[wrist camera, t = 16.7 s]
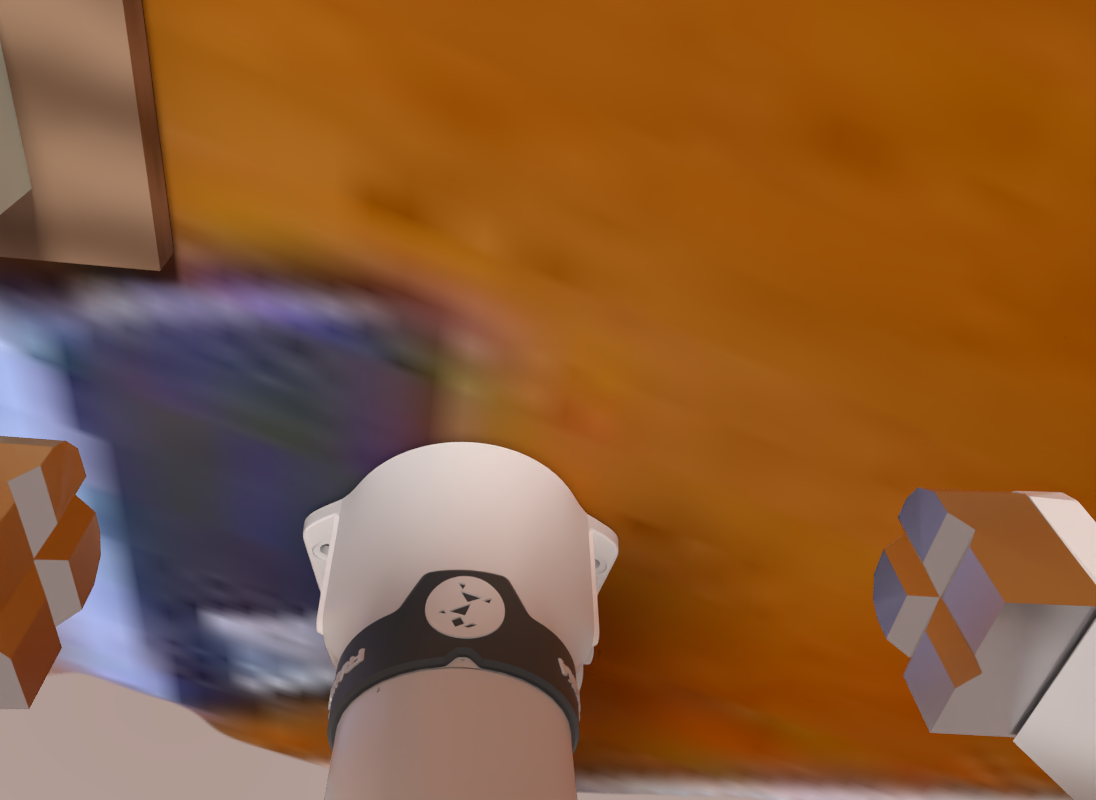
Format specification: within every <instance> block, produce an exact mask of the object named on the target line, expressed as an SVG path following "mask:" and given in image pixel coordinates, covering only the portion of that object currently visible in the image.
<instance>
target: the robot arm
mask: <svg viewBox="0 0 1096 800" xmlns="http://www.w3.org/2000/svg"><path fill="white" fill-rule="evenodd" d="M85 478H86V474H85V470H84V467H83V464H82V460H81V457H80V454H79V451H78V448H76V447H75V446H73V445H72V444H70V443H68V442H67V441H59V440H46V439H32V438H19V437H6V436H0V709H29V708H30V706H31V704H32V702H33V701H34V699H35V697H36V695H37V693H38V691H39V689H40V687H41V686H42V684H43V682H44V680H45V678H46V676H47V674H48V672H49V671H50V669H51V667H52V665H53V663H54V661H55V659H56V657H57V656H58V654H59V652H60V650H61V648H62V647H61V644H60V641H59V637H58V634H57V631H56V628H55V627H56V626H58V625H59V624H61V623H62V622H64V621H65V620H67V619H68V618H70V617H71V616H73V615H74V614H76V613H77V612H79V611H80V610H82V608H83V606H84V604H85V602H86V600H87V598H88V596H89V594H90V592H91V590H92V588H93V586H94V582H95V578H96V574H97V569H98V565H99V560H100V556H101V550H100V530H99V525H98V521H97V517H96V513H95V512H94V511H93V510H92V509H91V508H90V507H89V506H88V505H86V504H85V503H84V502H83V501H82V500H81V499H80V498H78V497H77V496H76V495H75V494H76V492H77V491H78V489H79V487H80V486H81V484H82V482H83V481H84V479H85ZM898 519H899V521H900V523H901V526H902V528H903V530H904V532H905V534H904V535H903V536H902V537H900V538H899V539H897V540H896V541H895V542H893V543H892V544H890V545H889V546H888V547H886V548H885V549H884V550H883V553H882V555H881V558H880V560H879V563H878V565H877V568H876V571H875V573H874V595H873V600H874V604H875V609H876V614H877V618H878V621H879V623H880V625H881V628H882V630H883V632H884V634H885V637H886V639H887V640H888V641H890V642H891V643H892V644H893V645H895V646H896V647H897V648H898V649H900V650H901V651H902V652H903V653H905V654H906V655H907V656H908V657H909V660H908V663H907V666H906V669H905V672H904V674H903V676H904V678H905V680H906V682H907V684H908V686H909V689H910V691H911V693H912V695H913V697H914V699H915V701H916V703H917V705H918V708H919V710H920V712H921V714H922V716H923V718H924V720H925V722H926V725H927V727H928V729H929V731H930V733H946V734H965V735H983V736H1002V737H1015V739H1014V740H1013V742H1014V743H1015V744H1016V745H1017V746H1018V747H1020V748H1021V749H1022V750H1023V751H1024V752H1025V753H1026V754H1027V755H1028V756H1029V757H1030V758H1031V759H1032V760H1033V761H1034V762H1035V763H1036V764H1037V765H1038V766H1039V767H1040V768H1042V769H1043V770H1044V771H1045V772H1046V773H1047V774H1048V775H1049V776H1050V777H1051V778H1052V779H1053V780H1054V781H1055V782H1056V783H1057V784H1058V785H1059V786H1060V787H1061V788H1062V789H1064V790H1065V791H1066V792H1067V793H1068V794H1069V795H1070V796H1071V797H1072V798H1073V799H1074V800H1096V522H1095V521H1094V520H1093V519H1092V518H1091V516H1090V515H1089V514H1088V513H1087V512H1086V510H1085V509H1084V508H1083V507H1082V506H1081V505H1080V503H1079V502H1078V501H1077V500H1075V499H1073V498H1071V497H1069V496H1068V495H1066V494H1064V493H1062V492H1032V491H1013V492H996V491H975V490H955V489H934V488H917V489H916V490H915V491H914V492H913V493H912V494H911V495H910V496H909V497H908V498H907V499H906V501H905V503H904V505H903V507H902V510H901V512H900V514H899V516H898ZM303 539H304V542H305V546H306V549H307V552H308V555H309V558H310V561H311V564H312V567H313V571H314V574H315V577H316V580H317V583H318V586H319V589H320V592H321V596H320V602H319V608H318V614H317V624H316V626H317V632H318V633H320V634H321V635H323V637H324V642H325V646H326V649H327V651H328V654H329V656H330V658H331V660H332V662H333V664H334V667H335V669H336V671H337V672H336V678H335V680H334V682H333V685H332V689H331V693H330V699H329V706H328V710H330V711H329V717H328V718H329V722H328V731H327V735H328V741H329V746H330V748H331V750H332V757H331V763H330V768H329V774H328V780H327V786H326V791H325V797H324V800H577V792H576V783H575V774H574V763H573V754H574V752H575V749H576V747H577V744H578V740H579V721H580V712H581V707H580V694H579V691H580V688H581V685H582V680H583V664H590V663H591V661H592V659H593V654H594V646H596V645H597V644H598V640H599V616H598V600H597V595H598V593H599V591H600V589H601V587H602V585H603V583H604V581H605V580H606V578H607V576H608V574H609V572H610V570H611V568H612V566H613V564H614V562H615V560H616V558H617V556H618V537H617V535H616V534H615V533H614V532H613V531H612V530H611V529H610V528H609V527H607V526H606V525H604V524H603V523H601V522H600V521H598V520H596V519H595V518H593V517H591V516H590V515H588V514H587V513H586V512H585V511H584V510H583V509H582V508H581V506H580V505H579V503H578V502H577V500H576V499H575V497H574V495H573V494H572V492H571V491H570V490H569V488H568V487H567V486H566V484H565V483H564V482H563V481H562V480H561V479H560V478H559V477H558V476H557V475H556V474H555V473H553V472H552V471H551V470H550V469H548V468H547V467H545V466H544V465H542V464H541V463H539V462H538V461H536V460H534V459H532V458H530V457H528V456H526V455H524V454H521V453H519V452H516V451H513V450H510V449H507V448H503V447H500V446H495V445H490V444H483V443H474V442H450V443H440V444H433V445H428V446H424V447H420V448H416V449H413V450H410V451H407V452H405V453H402V454H400V455H397V456H395V457H393V458H391V459H389V460H388V461H386V462H384V463H383V464H381V465H380V466H378V467H377V468H376V469H374V470H373V471H372V472H370V473H369V474H368V475H367V476H366V477H365V478H364V479H363V480H362V481H361V482H360V483H359V484H358V486H357V487H356V488H355V489H354V490H353V491H352V492H351V493H350V494H349V495H347V496H346V497H345V498H343V499H341V500H339V501H336V502H334V503H332V504H329V505H327V506H324V507H322V508H320V509H318V510H316V511H315V512H313V513H311V514H310V515H309V516H308V517H307V518H306V520H305V522H304V530H303ZM325 544H329V546H327V545H325ZM595 559H596V560H595Z"/></svg>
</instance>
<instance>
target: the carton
mask: <svg viewBox="0 0 1096 800" xmlns="http://www.w3.org/2000/svg"><path fill="white" fill-rule="evenodd" d="M31 189H32V187H31V182H30V177H29V173H28V168H27V163H26V159H25V154H24V149H23V145H22V140H21V136H20V131H19V126H18V122H17V117H16V112H15V108H14V103H13V99H12V94H11V89H10V85H9V80H8V75H7V71H6V66H5V62H4V57H3V52H2V48H1V43H0V214H2V213H3V212H4V211H5V210H7V209H8V208H9V207H10V206H11V205H13V204H14V203H15V202H16V201H17V200H19V199H20V198H21V197H22V196H24V195H25V194H26V193H27V192H28V191H30V190H31Z"/></svg>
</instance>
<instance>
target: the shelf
mask: <svg viewBox="0 0 1096 800" xmlns="http://www.w3.org/2000/svg"><path fill="white" fill-rule="evenodd" d="M0 43H1V48H2V52H3V57H4V62H5V66H6V71H7V75H8V80H9V85H10V89H11V94H12V99H13V103H14V108H15V112H16V117H17V122H18V126H19V131H20V136H21V140H22V145H23V149H24V154H25V159H26V163H27V168H28V173H29V177H30V182H31V187H32V189H31V190H30V191H28V192H27V193H26V194H25V195H24V196H22V197H21V198H20V199H19V200H17V201H16V202H15V203H14V204H13V205H11V206H10V207H9V208H8V209H7V210H5V211H4V212H3V213H2V214H0V257H7V258H19V259H30V260H41V261H53V262H64V263H75V264H87V265H98V266H109V267H120V268H132V269H143V270H154V271H161V270H162V268H163V267H164V265H165V264H166V263H167V261H168V260H169V259H170V257H171V256H172V254H173V253H174V249H173V241H172V234H171V226H170V218H169V210H168V202H167V195H166V187H165V179H164V171H163V164H162V156H161V148H160V140H159V133H158V125H157V117H156V109H155V102H154V94H153V86H152V78H151V71H150V63H149V55H148V47H147V40H146V32H145V24H144V16H143V9H142V1H141V0H0Z"/></svg>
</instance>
